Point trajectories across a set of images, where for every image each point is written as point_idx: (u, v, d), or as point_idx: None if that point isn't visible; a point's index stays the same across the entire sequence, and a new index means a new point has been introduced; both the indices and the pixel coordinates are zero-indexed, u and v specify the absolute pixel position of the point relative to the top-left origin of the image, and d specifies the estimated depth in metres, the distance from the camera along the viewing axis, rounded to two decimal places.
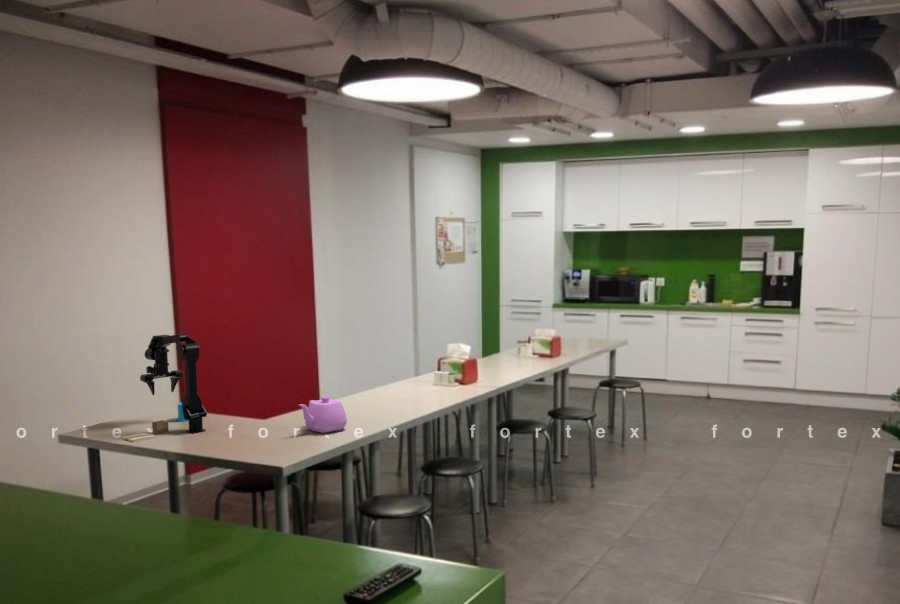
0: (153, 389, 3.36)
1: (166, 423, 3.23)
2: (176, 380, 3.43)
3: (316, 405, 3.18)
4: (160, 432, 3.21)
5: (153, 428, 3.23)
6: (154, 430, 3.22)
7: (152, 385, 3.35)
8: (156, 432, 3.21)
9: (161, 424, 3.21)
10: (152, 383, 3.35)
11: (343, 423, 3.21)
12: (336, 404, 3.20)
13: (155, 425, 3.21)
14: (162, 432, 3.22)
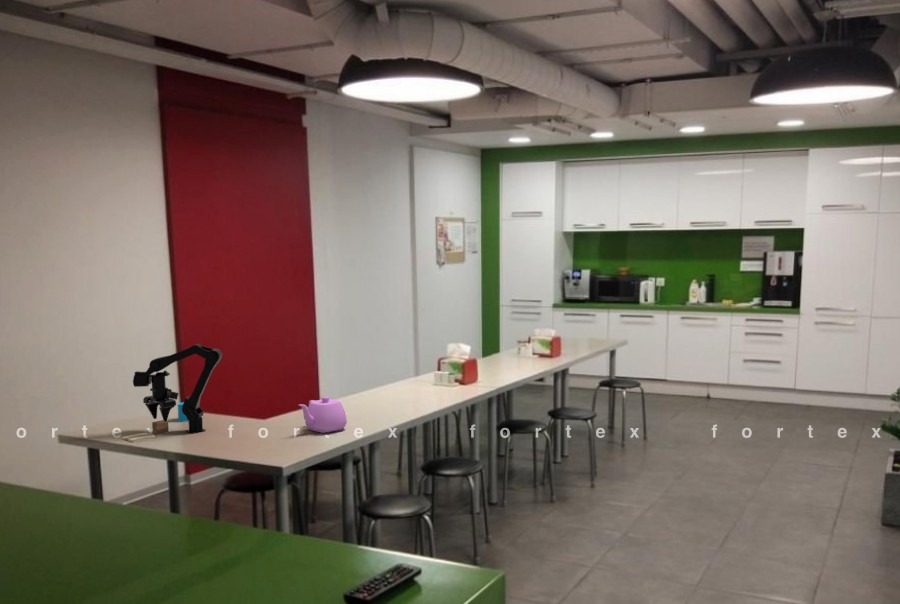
0: (151, 412, 3.25)
1: (166, 423, 3.23)
2: (160, 410, 3.17)
3: (316, 405, 3.18)
4: (160, 432, 3.21)
5: (153, 428, 3.23)
6: (154, 430, 3.22)
7: (148, 408, 3.25)
8: (156, 432, 3.21)
9: (161, 424, 3.21)
10: (147, 406, 3.25)
11: (343, 423, 3.21)
12: (336, 404, 3.20)
13: (155, 425, 3.21)
14: (162, 432, 3.22)
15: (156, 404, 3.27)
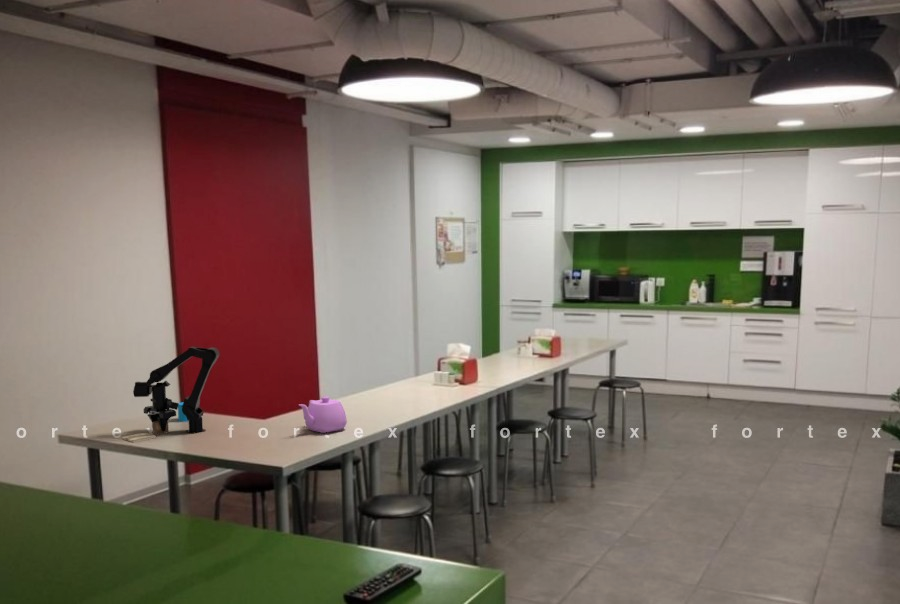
0: None
1: None
2: (158, 419, 3.19)
3: (316, 405, 3.18)
4: (160, 432, 3.21)
5: (153, 428, 3.23)
6: (154, 430, 3.22)
7: (150, 419, 3.24)
8: (156, 432, 3.21)
9: None
10: (149, 417, 3.24)
11: (343, 423, 3.21)
12: (336, 404, 3.20)
13: (155, 425, 3.21)
14: (162, 432, 3.22)
15: (158, 415, 3.26)
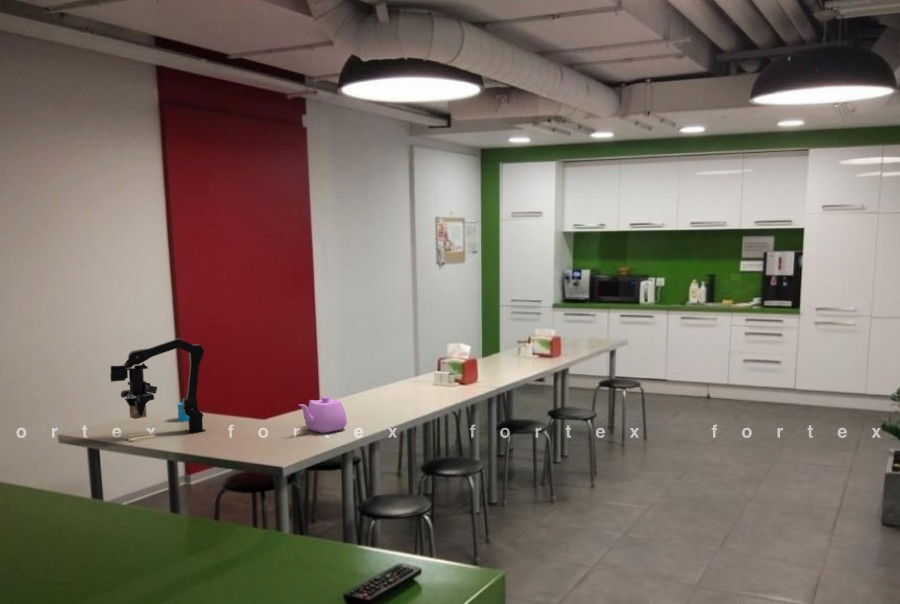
0: None
1: None
2: (136, 403, 3.08)
3: (316, 405, 3.18)
4: (137, 416, 3.11)
5: (130, 412, 3.12)
6: (132, 414, 3.12)
7: (128, 403, 3.14)
8: (133, 416, 3.11)
9: None
10: (127, 401, 3.13)
11: (343, 423, 3.21)
12: (336, 404, 3.20)
13: (133, 409, 3.11)
14: (140, 416, 3.11)
15: (136, 399, 3.16)
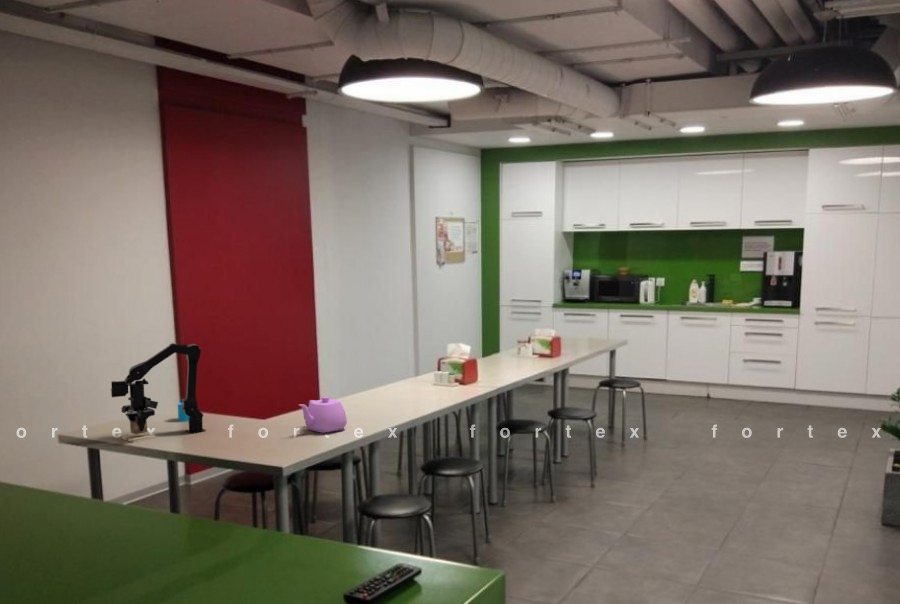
0: None
1: None
2: (136, 419, 3.09)
3: (316, 405, 3.18)
4: (138, 432, 3.11)
5: (131, 427, 3.13)
6: (132, 430, 3.12)
7: (128, 418, 3.14)
8: (134, 431, 3.11)
9: None
10: (127, 416, 3.14)
11: (343, 423, 3.21)
12: (336, 404, 3.20)
13: (133, 425, 3.11)
14: (140, 432, 3.12)
15: (137, 414, 3.16)
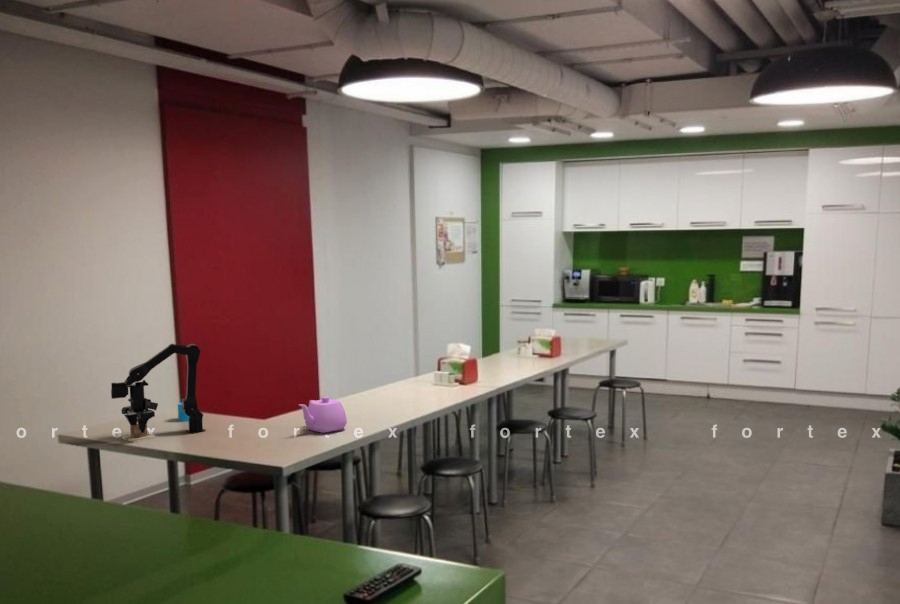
0: (130, 424, 3.15)
1: None
2: (137, 421, 3.08)
3: (316, 405, 3.18)
4: (138, 436, 3.11)
5: (131, 431, 3.13)
6: (133, 434, 3.12)
7: (127, 419, 3.15)
8: (134, 436, 3.11)
9: None
10: (126, 417, 3.14)
11: (343, 423, 3.21)
12: (336, 404, 3.20)
13: (133, 429, 3.11)
14: (140, 436, 3.12)
15: (136, 415, 3.17)
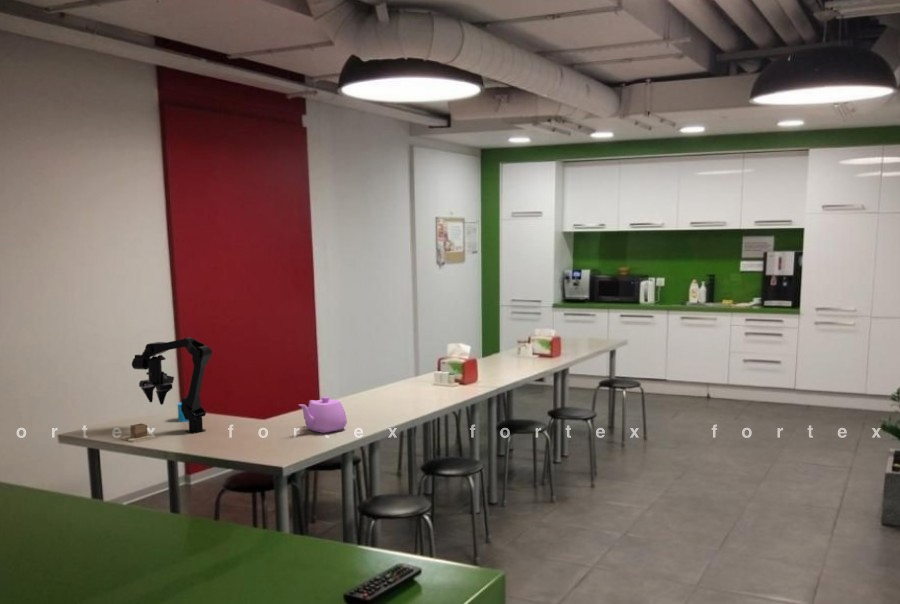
0: (146, 396, 3.31)
1: (145, 426, 3.13)
2: (157, 393, 3.24)
3: (316, 405, 3.18)
4: (138, 436, 3.11)
5: (131, 431, 3.13)
6: (133, 434, 3.12)
7: (144, 392, 3.31)
8: (134, 436, 3.11)
9: (139, 427, 3.11)
10: (143, 390, 3.31)
11: (343, 423, 3.21)
12: (336, 404, 3.20)
13: (133, 429, 3.11)
14: (140, 436, 3.12)
15: (152, 388, 3.33)
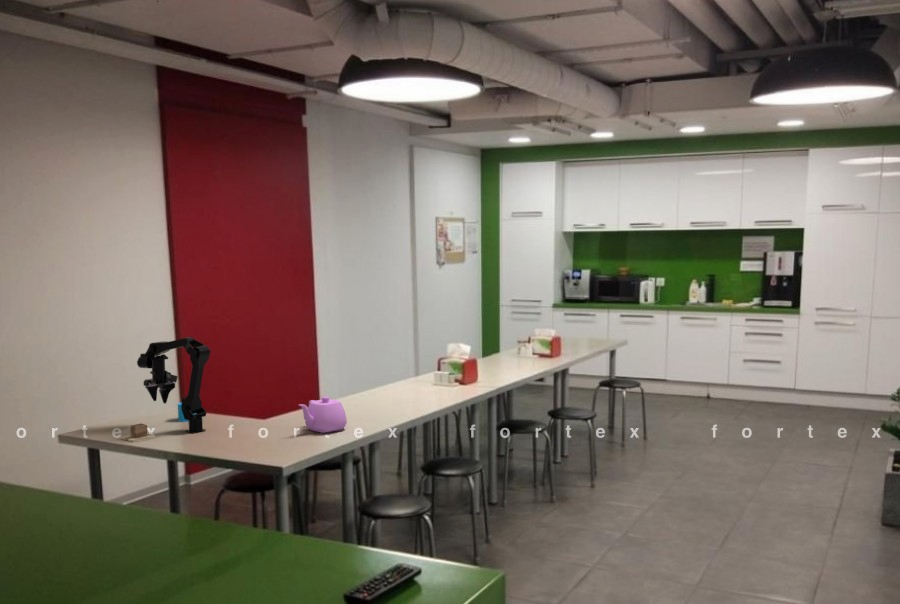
0: None
1: (145, 426, 3.13)
2: (160, 392, 3.26)
3: (316, 405, 3.18)
4: (138, 436, 3.11)
5: (131, 431, 3.13)
6: (133, 434, 3.12)
7: (148, 390, 3.34)
8: (134, 436, 3.11)
9: (139, 427, 3.11)
10: (147, 388, 3.34)
11: (343, 423, 3.21)
12: (336, 404, 3.20)
13: (133, 429, 3.11)
14: (140, 436, 3.12)
15: (156, 387, 3.36)
